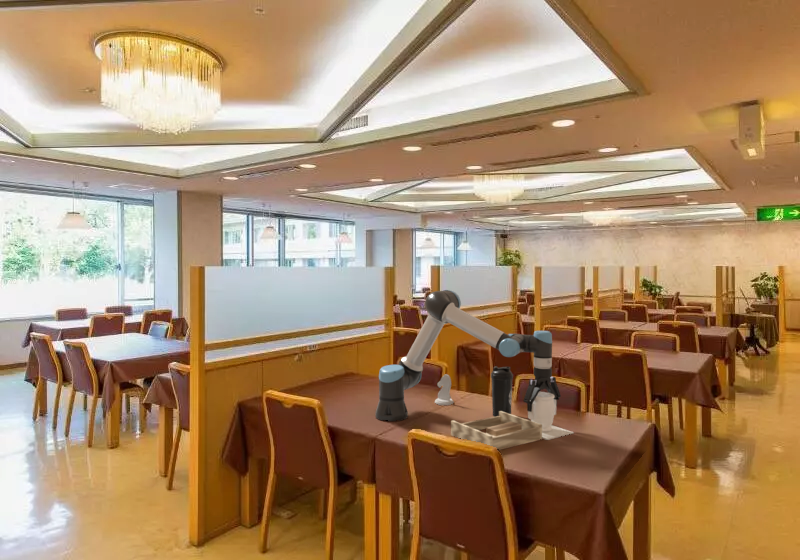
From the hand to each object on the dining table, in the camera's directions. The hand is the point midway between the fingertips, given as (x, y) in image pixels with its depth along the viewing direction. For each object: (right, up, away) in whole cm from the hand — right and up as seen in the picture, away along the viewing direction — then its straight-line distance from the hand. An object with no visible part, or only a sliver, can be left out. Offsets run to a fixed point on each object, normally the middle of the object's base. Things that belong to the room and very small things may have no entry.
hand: (542, 416), depth 225 cm
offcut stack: (-19, -7, -13) cm, 24 cm away
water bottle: (-13, -6, +23) cm, 27 cm away
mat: (0, -6, 0) cm, 6 cm away
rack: (-21, -6, -9) cm, 24 cm away
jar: (0, -6, 0) cm, 6 cm away
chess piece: (-38, -5, +46) cm, 60 cm away
